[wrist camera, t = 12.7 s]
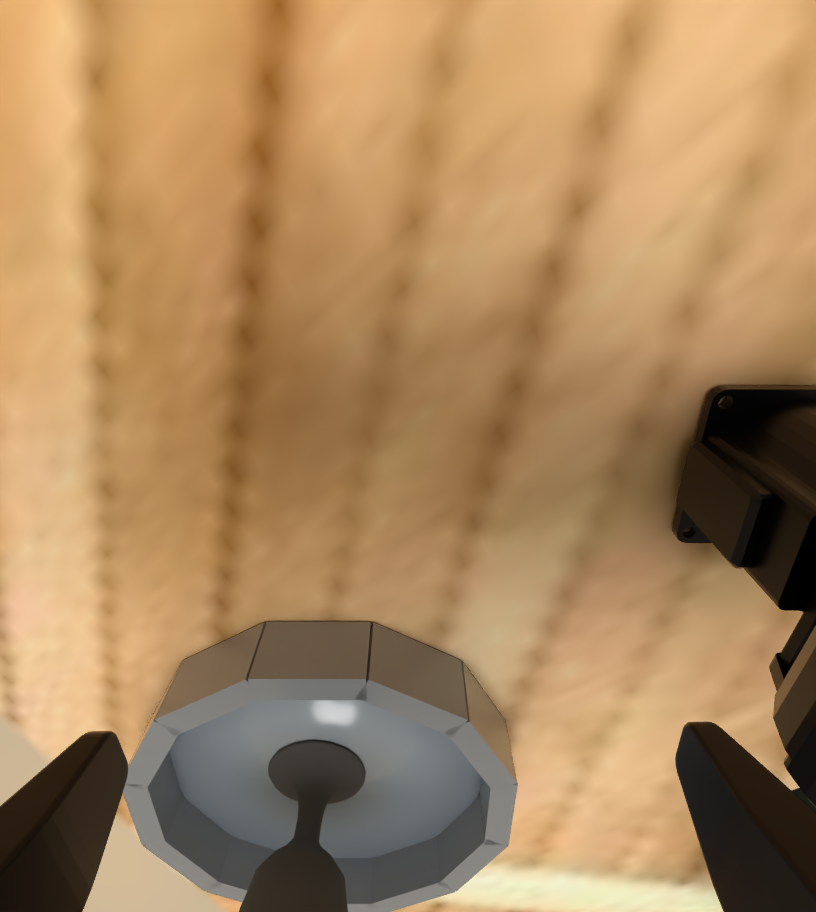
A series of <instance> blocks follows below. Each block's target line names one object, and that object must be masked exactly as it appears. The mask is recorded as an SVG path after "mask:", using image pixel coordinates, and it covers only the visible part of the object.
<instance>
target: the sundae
mask: <svg viewBox="0 0 816 912" xmlns="http://www.w3.org/2000/svg"><path fill="white" fill-rule="evenodd" d="M268 775H269V777H270V780H271V781H272V783H273V784H274V786H275V788H276V789H277V790H278V791H279V792H281V793H282V794H283V795H285V796H286V797H288V798H290V799H293V800H295V801H298V818H297V823H296V828H295V833H294V838H293V839H292V840H291V841H290V842H289V843H288V844H287V845H285V846H283V847H281V848H279V849H277V850H276V851H275V852H274V853H272V854H271V855H270V856H269V857H268V858H267V859H266V860H265V861H264V862H262V863H261V865H260V866H259V867H258V868H257V869H256V871H255V874H254V876H253V878H252V881H251V883H250V886H249V888H248V890H247V893H246V895H245V898H244V900H243V902H242V905H241V907H240V910H239V912H348V906H347V896H346V885H345V878H344V875H343V873H342V872H341V870H340V869H339V867H338V865H337V864H336V862H335V860H334V859H333V857H332V856H331V855H330V854H329V853H328V852H327V851H326V850H324V849H323V848H322V847H321V846H320V843H319V838H320V831H321V823H322V819H323V815H324V811H325V808H326V806H327V804H331V803H337V802H341V801H344V800H346V799H348V798H350V797H352V796H354V795H355V794H356V793H357V792H358V791H359V790H360V789H361V787H362V786H363V784H364V781H365V775H366V771H365V768H364V766H363V764H362V762H361V760H360V759H359V758H358V757H357V756H356V755H355V754H354V753H353V752H351V751H350V750H349V749H347V748H345V747H343V746H340V745H338V744H335V743H332V742H327V741H318V740H309V741H301V742H296V743H293V744H290V745H288V746H286V747H284V748H282V749H281V750H279V751H278V752H277V753H276V754H275V755H274V756H273V757H272V759H271V760H270V762H269V766H268Z"/></svg>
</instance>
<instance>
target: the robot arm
mask: <svg viewBox="0 0 816 912" xmlns="http://www.w3.org/2000/svg"><path fill="white" fill-rule="evenodd" d="M725 396H727V400H726V402H725V403H723V404H722V405H719V406H718V402H719V401H720V399H721V398H723V397H725ZM677 503H678V508H677V512H676V516H675V519H674V523H673V528H672V531H673V533H674V535H675V536H676V537H677V538H678V540H680V541H681V542H684V543H713V544H714V545H715V547H716V548H717V549H718V550H719V551H720V552H721V553H722V555H723V556H724V557H725V558H726V559H727V560H728V561H729V563H730V564H731V565H732V566H733V567H735V568H744V569H745V570H746V572H747V573H748V574H749V575H750V576H751V577H752V578H753V579H754V580H755V581H756V583H757V584H758V585H759V586H760V587H761V588H762V589H763V590H764V591H765V593H766V594H767V595H768V596H769V597H770V598H771V599H772V600H773V601H774V603H775V604H776V605H777V606H778V607H779V608H780V609H781V610H799V611H802V612H803V615H802V617H801V618H800V620H799V622H798V624H797V625H796V627H795V629H794V631H793V633H792V634H791V636H790V638H789V640H788V641H787V643H786V645H785V647H784V648H783V650H782V652H781V653H777V654H776V655H775V656H774V658H773V660H772V662H771V664H770V665H769V669H770V672H771V675H772V678H773V681H774V684H775V687H776V690H777V693H776V694H775V702H774V715H773V719H774V721H775V724H776V727H777V729H778V732H779V735H780V737H781V740H782V743H783V746H784V748H785V750H786V752H787V756H786V758H785V760H784V765H785V767H786V769H787V771H788V772H789V773H790V775H791V776H792V778H793V779H794V780H795V782H796V783H797V784H798V786H799V787H800V789H801V790H802V791H803V793H804V794H805V795H806V797H807V798H808V799H809V800H810V802H811V803H812V804H813V805H814V806H815V807H816V386H719V387H716V388H714V389H713V390H712V391H711V392H710V393H709V394H708V396H707V398H706V401H705V404H704V408H703V412H702V416H701V420H700V424H699V427H698V431H697V435H696V439H695V442H694V443H693V444H692V445H691V446H690V450H689V453H688V457H687V461H686V465H685V469H684V473H683V477H682V481H681V484H680V488H679V492H678V496H677ZM689 527H691V528H690V530H688V531H687V532H684V530H685V529H687V528H689ZM676 769H677V773H678V776H679V779H680V783H681V786H682V789H683V792H684V795H685V798H686V802H687V805H688V808H689V811H690V814H691V818H692V821H693V824H694V827H695V830H696V834H697V837H698V840H699V843H700V846H701V849H702V853H703V856H704V859H705V862H706V865H707V868H708V871H709V874H710V877H711V880H712V883H713V886H714V888H715V891H716V894H717V896H718V899H719V901H720V904H721V906H722V909H723V911H724V912H816V812H815V811H813V810H812V809H811V808H810V807H809V806H808V805H807V804H806V803H804V802H803V801H802V800H801V799H800V798H799V797H798V796H797V795H796V794H794V793H793V792H792V791H791V790H790V789H789V788H788V787H787V786H785V785H784V784H783V783H782V782H781V781H780V780H779V779H778V778H776V777H775V776H774V775H773V774H772V773H771V772H770V771H769V770H767V769H766V768H765V767H764V766H763V765H762V764H761V763H760V762H758V761H757V760H756V759H755V758H754V757H753V756H752V755H751V754H750V753H748V752H747V751H746V750H745V749H744V748H743V747H742V746H741V745H739V744H738V743H737V742H736V741H735V740H734V739H733V738H732V737H730V736H729V735H728V734H727V733H726V732H725V731H724V730H723V729H721V728H720V727H719V726H718V725H716V724H714V723H712V722H688V723H687V724H685V725H684V728H683V731H682V734H681V738H680V742H679V745H678V749H677V752H676ZM127 776H128V763H127V760H126V757H125V755H124V752H123V750H122V748H121V745H120V743H119V740H118V738H117V736H116V734H115V733H113V732H112V731H92V732H88V733H85V734H84V735H82V736H81V737H79V738H78V739H77V740H76V741H75V742H74V743H73V744H71V745H70V746H69V747H68V748H67V749H66V750H64V751H63V752H62V753H61V754H60V755H59V756H58V757H56V758H55V759H54V760H53V761H52V762H51V763H49V764H48V765H47V766H46V767H45V768H44V769H43V770H41V771H40V772H39V773H38V774H37V775H36V776H34V777H33V778H32V779H31V780H30V781H29V782H28V783H26V784H25V785H24V786H23V787H22V788H21V789H20V790H18V791H17V792H16V793H15V794H14V795H13V796H11V797H10V798H9V799H8V800H7V801H6V802H4V803H3V804H2V805H1V806H0V912H82V911H83V909H84V906H85V904H86V901H87V899H88V896H89V894H90V891H91V889H92V886H93V883H94V880H95V877H96V874H97V871H98V868H99V865H100V862H101V859H102V856H103V852H104V849H105V846H106V843H107V840H108V837H109V833H110V830H111V827H112V824H113V821H114V818H115V815H116V812H117V809H118V806H119V802H120V799H121V796H122V793H123V790H124V787H125V784H126V780H127Z"/></svg>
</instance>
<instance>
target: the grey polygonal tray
mask: <svg viewBox="0 0 816 912" xmlns="http://www.w3.org/2000/svg"><path fill="white" fill-rule="evenodd" d="M309 740H318V741H327V742H332V743H335V744H338V745H340V746H343V747H345V748H347V749H349V750H350V751H351V752H353V753H354V754H355V755H356V756H357V757H358V758H359V759H360V760H361V762H362V764H363V766H364V768H365V771H366V775H365V781H364V784H363V786H362V787H361V789H360V790H359V791H358V792H357V793H356V794H355V795H354V796H352V797H350V798H348V799H346V800H344V801H341V802H337V803H331V804H327V806H326V808H325V811H324V815H323V819H322V823H321V831H320V838H319V843H320V846H321V847H322V848H323V849H324V850H326V851H327V852H328V853H329V854H330V855H331V856H332V857H333V859H334V860H335V862H336V864H337V865H338V867H339V869H340V870H341V872H342V873H343V875H344V878H345V885H346V896H347V906H348V912H391V911H394V910H398V909H401V908H404V907H407V906H411V905H414V904H417V903H421V902H424V901H427V900H430V899H434V898H437V897H440V896H443V895H447V894H450V893H453V892H455V891H457V890H458V889H460V888H461V887H462V886H463V885H464V884H465V883H466V882H468V881H469V880H470V879H471V878H472V877H473V876H474V875H476V874H477V873H478V872H479V871H480V870H481V869H482V868H484V867H485V866H486V865H487V864H488V863H489V862H490V861H492V860H493V859H494V858H495V857H496V856H497V855H498V854H500V853H501V852H502V851H503V850H504V849H505V848H506V847H508V845H509V839H510V832H511V825H512V819H513V812H514V805H515V798H516V791H517V779H516V774H515V769H514V763H513V758H512V752H511V747H510V742H509V736H508V731H507V726H506V721H505V719H504V718H503V717H502V715H501V714H500V712H499V711H498V710H497V708H496V707H495V705H494V704H493V703H492V701H491V700H490V699H489V697H488V696H487V694H486V693H485V692H484V690H483V689H482V687H481V686H480V685H479V683H478V682H477V681H476V679H475V678H474V676H473V675H472V674H471V672H470V671H469V670H468V668H467V667H466V665H465V664H464V663H463V662H461V660H459V659H457V658H455V657H452V656H450V655H448V654H445V653H443V652H441V651H439V650H436V649H434V648H432V647H429V646H427V645H425V644H423V643H420V642H418V641H416V640H413V639H411V638H409V637H406V636H404V635H402V634H400V633H397V632H395V631H393V630H390V629H388V628H386V627H384V626H381V625H379V624H377V623H374V622H373V624H372V625H371V622H297V621H267V623H265V622H263V623H261V624H259V625H257V626H255V627H253V628H251V629H248V630H246V631H244V632H242V633H240V634H238V635H236V636H233V637H231V638H229V639H227V640H225V641H223V642H221V643H219V644H216V645H214V646H212V647H210V648H208V649H206V650H204V651H202V652H199V653H197V654H195V655H193V656H191V657H189V658H187V659H185V660H183V661H182V662H181V664H180V666H179V668H178V670H177V672H176V674H175V675H174V677H173V679H172V681H171V683H170V685H169V686H168V688H167V690H166V692H165V694H164V696H163V697H162V699H161V701H160V703H159V705H158V707H157V709H156V710H155V712H154V714H153V716H152V718H151V720H150V722H149V724H148V726H147V728H146V730H145V732H144V734H143V736H142V738H141V740H140V742H139V744H138V746H137V748H136V750H135V752H134V754H133V756H132V758H131V760H130V762H129V764H128V776H127V780H126V784H125V787H124V790H123V795H124V798H125V800H126V803H127V806H128V809H129V811H130V814H131V817H132V819H133V822H134V825H135V828H136V830H137V833H138V836H139V838H140V841H141V844H142V845H143V846H144V847H145V848H146V849H148V850H149V851H150V852H152V853H153V854H155V855H156V856H157V857H159V858H160V859H161V860H163V861H164V862H165V863H167V864H168V865H170V866H171V867H172V868H174V869H175V870H176V871H178V872H179V873H180V874H182V875H183V876H185V877H186V878H187V879H189V880H190V881H191V882H193V883H194V884H195V885H197V886H198V887H200V888H201V889H202V890H204V891H206V890H207V891H206V892H208V893H212V894H215V895H219V896H222V897H226V898H229V899H233V900H236V901H240V902H243V900H244V898H245V895H246V893H247V890H248V888H249V886H250V883H251V881H252V878H253V876H254V874H255V871H256V869H257V868H258V867H259V866H260V865H261V863H262V862H264V861H265V860H266V859H267V858H268V857H269V856H270V855H271V854H272V853H274V852H275V851H276V850H277V849H279V848H281V847H283V846H285V845H287V844H288V843H289V842H290V841H291V840H292V839H293V838H294V833H295V828H296V823H297V818H298V801H295V800H293V799H290V798H288V797H286V796H285V795H283V794H282V793H281V792H279V791H278V790H277V789H276V788H275V786H274V784H273V783H272V781H271V780H270V777H269V775H268V766H269V762H270V760H271V759H272V757H273V756H274V755H275V754H276V753H277V752H278V751H279V750H281V749H282V748H284V747H286V746H288V745H290V744H293V743H296V742H301V741H309Z"/></svg>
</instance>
